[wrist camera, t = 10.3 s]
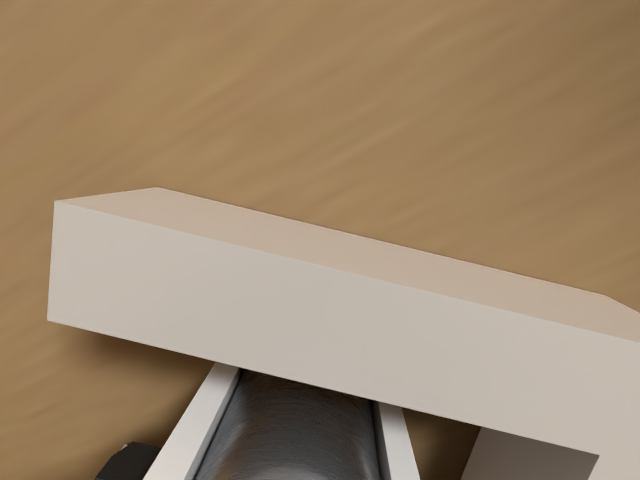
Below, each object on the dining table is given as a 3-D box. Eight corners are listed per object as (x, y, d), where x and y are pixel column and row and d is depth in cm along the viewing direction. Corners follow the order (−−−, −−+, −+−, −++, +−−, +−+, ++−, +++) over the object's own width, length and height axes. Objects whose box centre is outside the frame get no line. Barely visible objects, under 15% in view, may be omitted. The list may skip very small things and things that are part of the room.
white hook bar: (158, 187, 11) (2, 207, 6) (604, 295, 11) (833, 409, 6) (117, 499, 13) (-13, 696, 8) (473, 587, 13) (552, 838, 8)
